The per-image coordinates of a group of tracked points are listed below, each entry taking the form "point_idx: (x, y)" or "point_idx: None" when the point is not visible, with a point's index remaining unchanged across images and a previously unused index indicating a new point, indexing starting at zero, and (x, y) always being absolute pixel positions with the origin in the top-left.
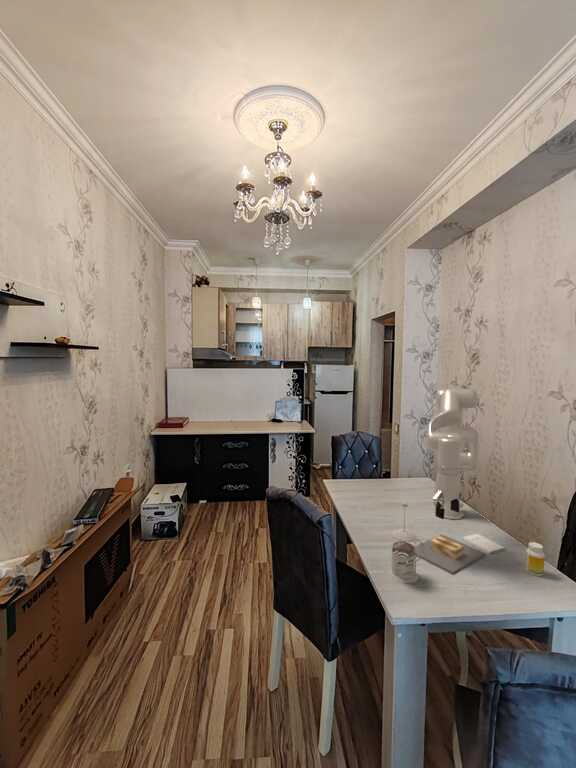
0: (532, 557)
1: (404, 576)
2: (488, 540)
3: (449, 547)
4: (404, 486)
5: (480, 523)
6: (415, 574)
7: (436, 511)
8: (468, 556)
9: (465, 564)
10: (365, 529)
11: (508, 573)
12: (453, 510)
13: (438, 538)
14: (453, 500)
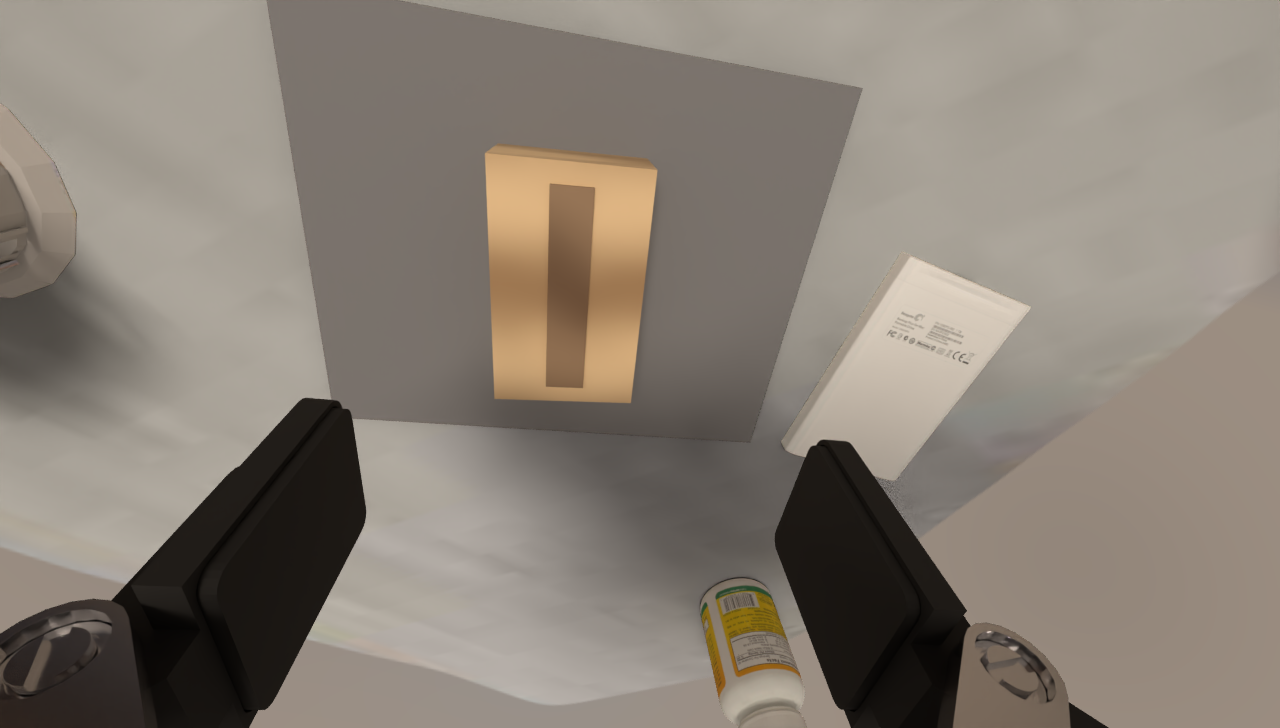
0: (718, 688)
1: None
2: (945, 395)
3: (511, 345)
4: None
5: (1275, 231)
6: (9, 270)
7: (249, 478)
8: None
9: (503, 426)
10: None
11: (630, 554)
12: (794, 487)
13: (588, 204)
14: (902, 662)
